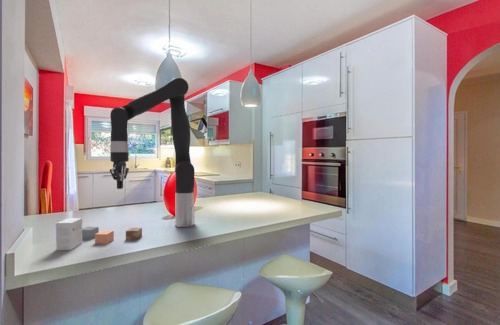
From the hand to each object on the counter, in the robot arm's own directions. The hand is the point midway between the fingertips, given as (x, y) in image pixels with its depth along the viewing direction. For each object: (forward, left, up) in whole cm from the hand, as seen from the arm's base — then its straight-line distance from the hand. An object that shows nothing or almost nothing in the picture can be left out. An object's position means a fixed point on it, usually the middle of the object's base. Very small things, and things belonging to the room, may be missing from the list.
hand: (120, 188), depth 121 cm
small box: (+10, +19, -21) cm, 30 cm away
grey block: (+10, +7, -21) cm, 24 cm away
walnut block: (-10, +7, -21) cm, 24 cm away
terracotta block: (0, +12, -21) cm, 24 cm away
